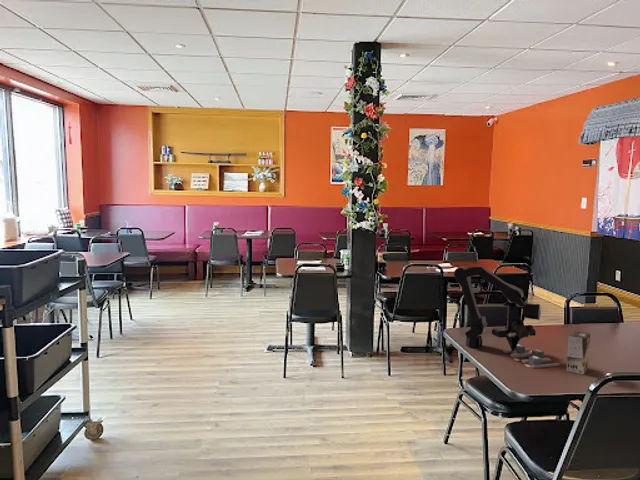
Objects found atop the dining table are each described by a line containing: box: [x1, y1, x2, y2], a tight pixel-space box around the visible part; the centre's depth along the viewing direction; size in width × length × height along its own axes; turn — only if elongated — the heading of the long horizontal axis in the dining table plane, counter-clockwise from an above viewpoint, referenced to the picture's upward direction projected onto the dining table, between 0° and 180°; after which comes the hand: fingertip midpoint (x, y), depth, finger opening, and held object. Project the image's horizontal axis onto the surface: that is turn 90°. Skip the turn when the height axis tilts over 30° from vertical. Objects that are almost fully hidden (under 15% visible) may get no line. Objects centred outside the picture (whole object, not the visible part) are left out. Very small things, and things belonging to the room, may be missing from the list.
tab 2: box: [530, 348, 545, 358], centre depth 202 cm, size 4×3×4 cm
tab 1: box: [512, 343, 526, 354], centre depth 209 cm, size 4×3×4 cm
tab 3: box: [528, 356, 543, 366], centre depth 194 cm, size 4×3×4 cm
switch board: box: [503, 347, 561, 369], centre depth 202 cm, size 16×20×2 cm
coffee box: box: [565, 330, 591, 375], centre depth 189 cm, size 9×6×16 cm
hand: (512, 350), depth 208 cm, fingers closed
